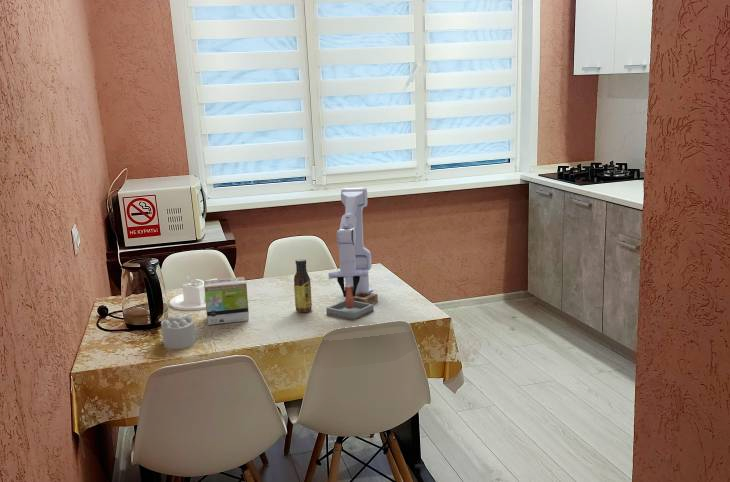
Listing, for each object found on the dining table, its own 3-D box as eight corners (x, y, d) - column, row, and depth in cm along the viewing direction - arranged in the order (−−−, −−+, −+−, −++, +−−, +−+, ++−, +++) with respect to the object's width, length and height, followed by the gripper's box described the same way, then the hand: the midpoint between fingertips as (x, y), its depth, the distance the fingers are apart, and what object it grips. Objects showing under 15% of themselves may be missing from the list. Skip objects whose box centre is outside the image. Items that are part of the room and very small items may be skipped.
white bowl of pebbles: (191, 333, 230) (189, 310, 228) (199, 345, 218) (197, 321, 217) (161, 339, 225) (158, 315, 224) (167, 352, 214) (165, 327, 212)
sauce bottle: (309, 313, 245) (306, 262, 241) (293, 313, 247) (289, 262, 242) (314, 307, 252) (311, 257, 247) (298, 307, 253) (295, 257, 249)
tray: (326, 314, 244) (326, 307, 243) (346, 305, 253) (346, 299, 252) (353, 320, 236) (353, 313, 235) (373, 310, 245) (373, 304, 245)
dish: (196, 315, 251) (193, 286, 248) (157, 304, 266) (154, 278, 263) (244, 297, 270) (242, 271, 267) (205, 289, 285) (202, 264, 282)
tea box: (208, 326, 237) (204, 287, 233) (207, 317, 246) (203, 280, 243) (249, 321, 240) (246, 282, 237) (247, 312, 250) (243, 275, 247)
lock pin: (344, 307, 244) (343, 287, 242) (349, 305, 246) (348, 285, 244) (350, 309, 242) (349, 288, 240) (355, 306, 244) (354, 286, 242)
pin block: (349, 303, 255) (348, 296, 254) (361, 298, 261) (361, 291, 260) (365, 307, 250) (364, 299, 249) (377, 301, 256) (377, 294, 255)
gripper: (327, 264, 236) (329, 300, 239) (367, 262, 236) (369, 298, 239) (327, 259, 243) (329, 294, 246) (366, 257, 243) (368, 292, 246)
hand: (349, 296), depth 243 cm, fingers closed on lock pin, 3 cm apart
